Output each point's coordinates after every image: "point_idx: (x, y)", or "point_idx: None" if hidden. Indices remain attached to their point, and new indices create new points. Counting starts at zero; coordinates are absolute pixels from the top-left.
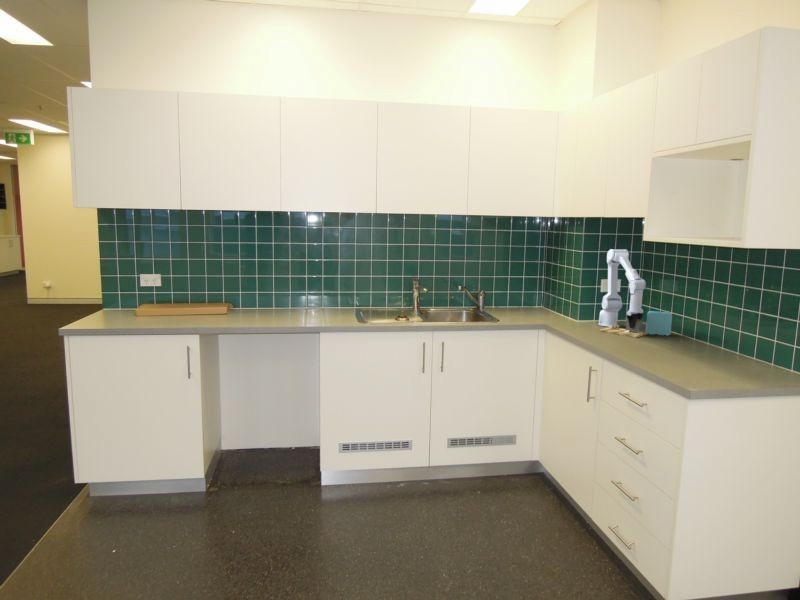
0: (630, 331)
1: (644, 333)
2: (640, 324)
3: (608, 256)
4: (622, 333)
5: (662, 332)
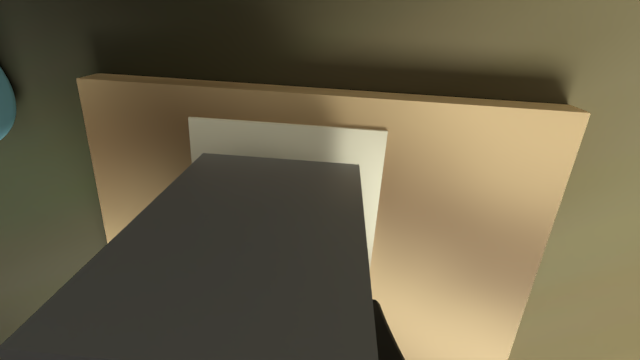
0: None
1: (197, 88)
2: (263, 249)
3: None
4: (514, 336)
5: None
